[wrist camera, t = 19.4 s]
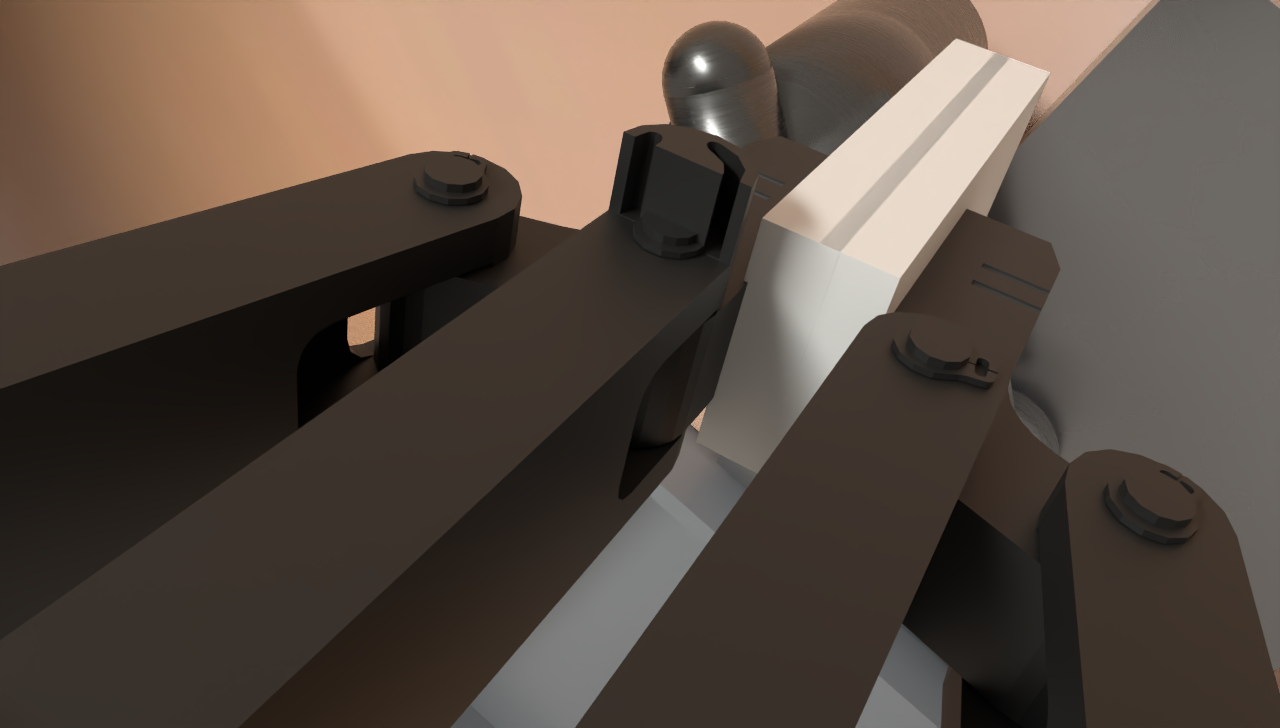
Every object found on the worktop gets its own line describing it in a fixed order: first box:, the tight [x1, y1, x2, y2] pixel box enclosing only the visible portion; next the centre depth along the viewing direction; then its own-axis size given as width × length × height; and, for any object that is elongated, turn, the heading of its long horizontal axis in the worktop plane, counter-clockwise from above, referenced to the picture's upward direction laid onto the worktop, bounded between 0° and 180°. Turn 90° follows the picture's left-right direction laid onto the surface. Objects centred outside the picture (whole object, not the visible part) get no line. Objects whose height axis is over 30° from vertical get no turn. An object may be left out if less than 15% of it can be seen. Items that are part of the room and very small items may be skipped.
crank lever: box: [662, 0, 1059, 455], centre depth 18 cm, size 13×3×9 cm, turn 17°
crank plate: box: [716, 0, 1280, 671], centre depth 23 cm, size 12×16×1 cm
